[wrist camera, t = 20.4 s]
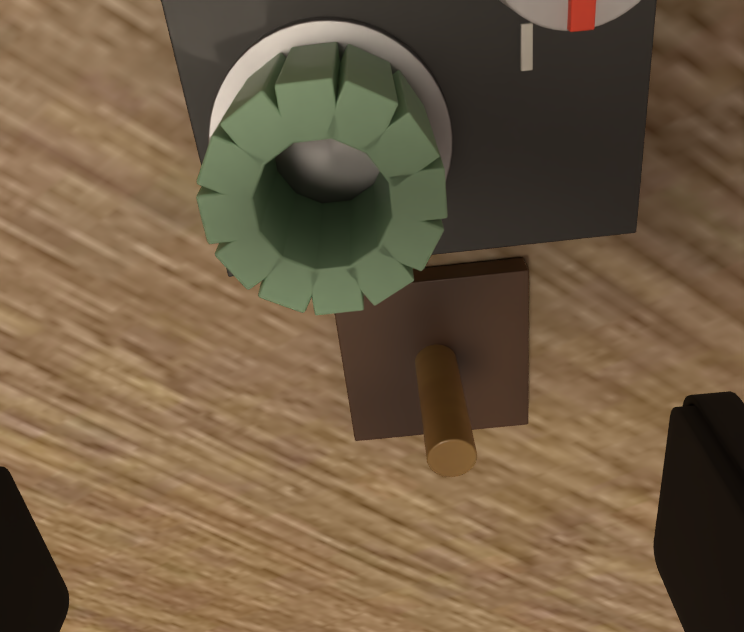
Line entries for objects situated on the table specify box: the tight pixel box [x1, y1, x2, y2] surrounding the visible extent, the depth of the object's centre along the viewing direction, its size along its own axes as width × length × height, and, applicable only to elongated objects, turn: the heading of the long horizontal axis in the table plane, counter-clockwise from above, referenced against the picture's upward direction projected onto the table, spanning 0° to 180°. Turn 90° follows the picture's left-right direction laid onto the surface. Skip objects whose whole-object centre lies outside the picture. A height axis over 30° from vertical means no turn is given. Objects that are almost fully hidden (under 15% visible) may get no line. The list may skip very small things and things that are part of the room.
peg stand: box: [335, 258, 529, 477], centre depth 28 cm, size 8×8×7 cm
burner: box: [208, 17, 452, 203], centre depth 23 cm, size 8×8×1 cm
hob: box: [161, 0, 657, 277], centre depth 23 cm, size 15×15×3 cm
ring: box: [196, 42, 448, 315], centre depth 21 cm, size 7×7×5 cm
